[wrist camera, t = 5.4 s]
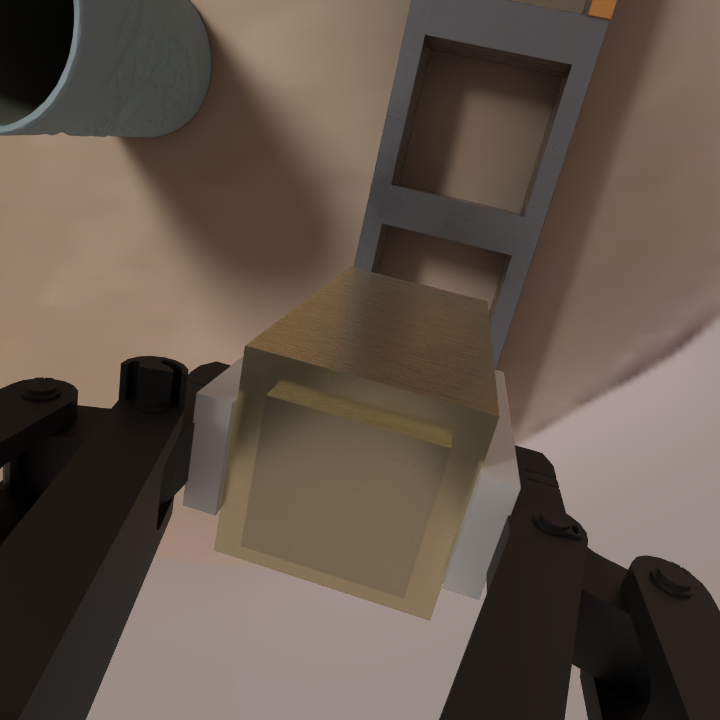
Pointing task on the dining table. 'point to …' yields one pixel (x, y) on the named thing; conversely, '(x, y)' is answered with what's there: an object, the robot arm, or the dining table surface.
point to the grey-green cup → (101, 67)
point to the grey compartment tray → (521, 231)
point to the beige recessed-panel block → (362, 438)
